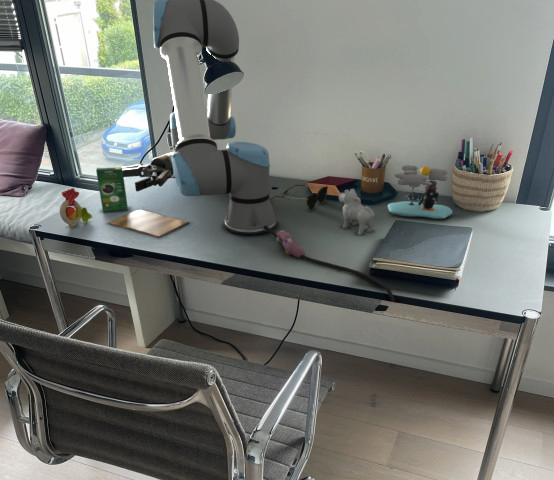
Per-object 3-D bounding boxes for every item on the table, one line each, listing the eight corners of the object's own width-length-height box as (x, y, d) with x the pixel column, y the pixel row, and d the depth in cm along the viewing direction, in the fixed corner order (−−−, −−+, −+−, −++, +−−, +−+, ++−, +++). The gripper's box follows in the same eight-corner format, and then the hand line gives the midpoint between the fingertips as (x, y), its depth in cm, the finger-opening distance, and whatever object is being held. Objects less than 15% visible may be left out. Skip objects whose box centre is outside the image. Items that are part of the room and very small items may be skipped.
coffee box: (129, 207, 181) (122, 165, 173) (128, 210, 179) (122, 168, 171) (103, 209, 180) (95, 167, 172) (102, 212, 178) (94, 170, 170)
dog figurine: (345, 219, 172) (347, 184, 166) (375, 232, 164) (379, 195, 158) (332, 223, 170) (334, 188, 164) (362, 236, 162) (366, 199, 155)
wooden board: (188, 223, 170) (188, 221, 170) (159, 237, 161) (158, 236, 161) (139, 210, 179) (139, 209, 178) (109, 223, 170) (109, 222, 170)
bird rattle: (81, 235, 168) (97, 214, 172) (62, 206, 159) (80, 185, 163) (65, 231, 170) (82, 211, 174) (46, 203, 161) (64, 182, 165)
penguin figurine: (452, 212, 177) (461, 162, 168) (450, 224, 169) (459, 173, 160) (389, 205, 182) (395, 157, 174) (383, 216, 174) (389, 166, 165)
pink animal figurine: (281, 250, 157) (270, 230, 153) (295, 242, 157) (284, 221, 153) (292, 265, 150) (281, 244, 145) (307, 256, 149) (296, 235, 145)
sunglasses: (307, 213, 177) (307, 197, 174) (264, 206, 184) (263, 191, 181) (328, 200, 186) (328, 185, 183) (286, 194, 194) (285, 180, 191)
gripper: (195, 183, 189) (151, 202, 174) (141, 171, 200) (95, 188, 185) (193, 161, 184) (148, 177, 170) (137, 150, 195) (90, 164, 181)
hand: (120, 183), depth 178 cm, fingers open, 13 cm apart
